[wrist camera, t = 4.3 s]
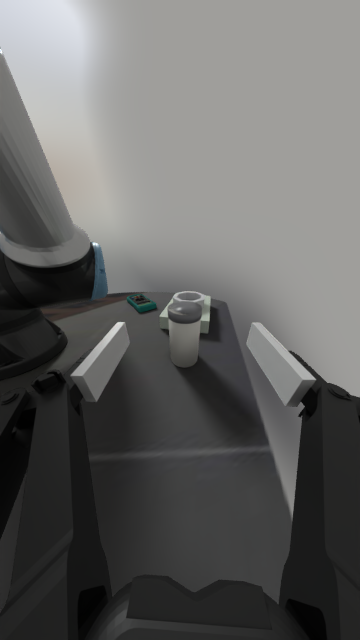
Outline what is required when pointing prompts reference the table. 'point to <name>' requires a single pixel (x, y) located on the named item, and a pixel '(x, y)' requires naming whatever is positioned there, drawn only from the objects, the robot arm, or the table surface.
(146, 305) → the digital multimeter
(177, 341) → the white grey-capped cylinder
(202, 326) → the octagonal ring base plate
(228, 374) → the table surface
